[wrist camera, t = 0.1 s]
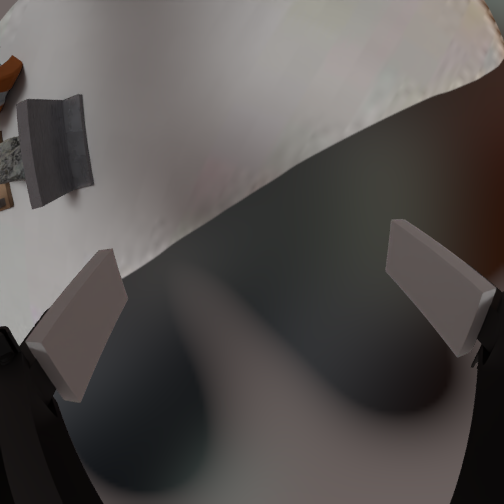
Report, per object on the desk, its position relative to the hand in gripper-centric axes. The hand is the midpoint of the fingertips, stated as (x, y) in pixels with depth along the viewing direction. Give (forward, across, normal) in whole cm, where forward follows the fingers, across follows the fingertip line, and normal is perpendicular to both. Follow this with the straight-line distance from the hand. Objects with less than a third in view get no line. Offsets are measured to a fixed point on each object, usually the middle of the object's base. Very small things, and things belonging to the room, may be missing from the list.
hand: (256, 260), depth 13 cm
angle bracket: (+28, -24, +8) cm, 38 cm away
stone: (+28, -33, +8) cm, 44 cm away
